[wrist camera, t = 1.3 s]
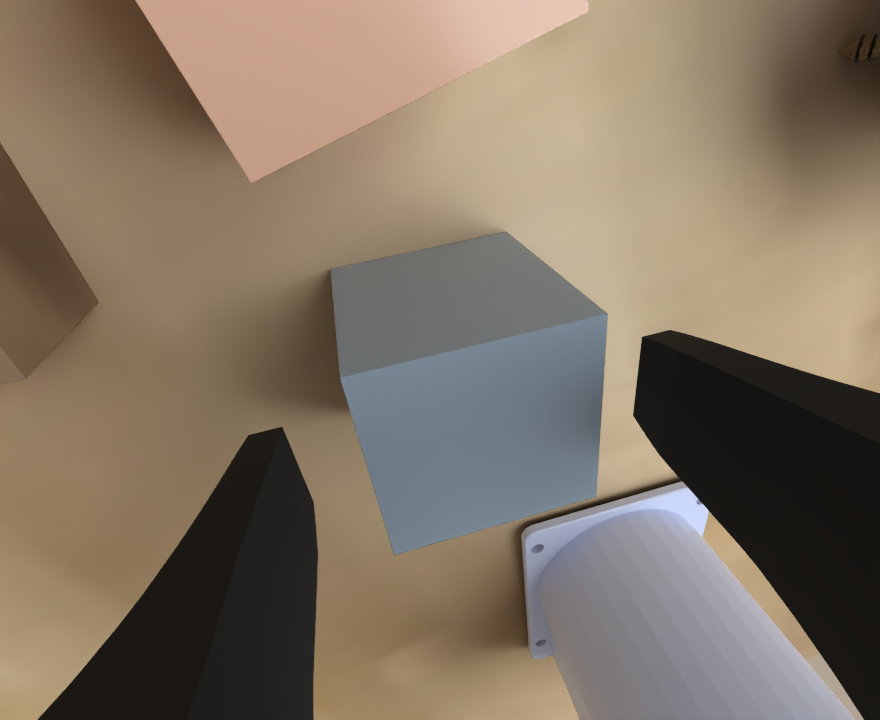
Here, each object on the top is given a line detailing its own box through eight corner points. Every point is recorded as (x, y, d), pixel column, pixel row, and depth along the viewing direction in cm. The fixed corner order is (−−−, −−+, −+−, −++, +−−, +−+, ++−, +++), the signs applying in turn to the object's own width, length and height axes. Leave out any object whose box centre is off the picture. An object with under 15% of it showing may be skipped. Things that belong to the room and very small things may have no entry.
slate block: (514, 375, 14) (596, 496, 10) (370, 411, 14) (393, 554, 10) (505, 230, 12) (607, 313, 8) (330, 267, 12) (340, 378, 7)
